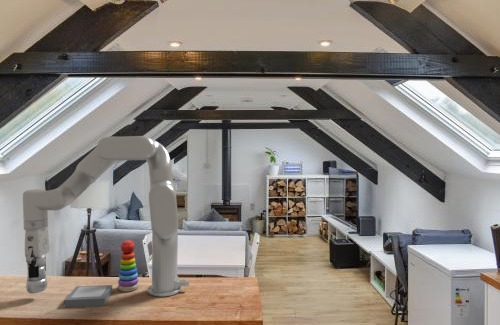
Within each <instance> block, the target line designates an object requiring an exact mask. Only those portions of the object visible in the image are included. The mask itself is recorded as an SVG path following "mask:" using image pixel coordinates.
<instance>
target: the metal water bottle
mask: <svg viewBox="0 0 500 325" xmlns="http://www.w3.org/2000/svg"><path fill="white" fill-rule="evenodd" d="M45 253H46V250H45ZM46 255H47V253H46V254H45V255H44V256H42V257H41V258H38V265H37V266H39V277H38V278H29V273H28V272H27V273H26V274H27V276H26V277H27V279H26V283H25V289H26V291H27V292H28V293H29V294H37V293H38V294H39V293H41V292H44V291H45V290H46V289H47V287H48V278H47V276H46V275H47V274H46V271H45V261H46V260H45V257H46ZM32 257H35V255H32ZM46 258H47V257H46ZM32 260H34V262H35V259H32ZM26 266H27V268H26V269H27V271H28V263H27V262H26Z"/></svg>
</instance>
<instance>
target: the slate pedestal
mask: <svg viewBox="0 0 500 325" xmlns="http://www.w3.org/2000/svg"><path fill="white" fill-rule="evenodd" d="M112 293H113V284H105V285H104V284H103V285H102V284H101V285H100V284H99V285H77V286H75V287H74V288H73V290H72V291H71V292H70V293H69V294H68V295H67V297H66V298H65V299H64V308H78V307H79V308H80V307H81V308H82V307H99V306H106V304H107V302H108V300H109V298H110V296H111V295H112Z"/></svg>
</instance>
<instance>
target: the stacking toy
mask: <svg viewBox="0 0 500 325" xmlns="http://www.w3.org/2000/svg"><path fill="white" fill-rule="evenodd" d="M135 247H136V246H135V243H134V242H133V241H132V240H129V239H128V240H125V241H122V243H121V246H120V249H121V252H122V253H121V255H120V257H121V259H120V265H119V268H120V269H119V276H118V280H117V283H118V284H117V289H118V290H119V291H120V292H132V291H135V290H136V289H138V288H139V287H140V283H139V278H138V276H139V274H138V269H137V264H136V258H135V256H136V254H135V252H133V251H134V250H135Z"/></svg>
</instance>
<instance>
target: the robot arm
mask: <svg viewBox="0 0 500 325" xmlns="http://www.w3.org/2000/svg"><path fill="white" fill-rule="evenodd" d="M117 161H118V162H119V161H123V162H125V161H146V162H147V164H148V172H149V173H148V175H149V182H150V183H149V185H150V187H149V188H150V189H149V192H148V204H149V215H150V225H151V226H150V227H151V231H152V232H151V234H152V236H151V237H152V238H151V239H152V240H151V242H152V243H151V245H152V246H151V285H150V286H148V287H147V294H149V295H150V296H154V297H170V296H174V295H176V294H179V293H180V292H181V290H182V287H189V286H190V281H189V280H187V279H181V278H179V275H178V246H179V245H178V236H179V234H178V233H179V232H178V231H179V230H178V229H179V216H178V215H179V214H178V203H177V201H178V200H177V192H176V189H175V185H174V184H175V183H174V175H173V168H172V161H171V158H170V154H169V152H168V150H167V149H166V148H165V146H164V145H163V144H162V143H160V142H158V141H157V140H155V139H152V138H151V137H148V136H145V135H131V136H105V137H102V138H101V139H100V140H99V141H98V142H97V144H96V147H95V148H94V149H93V150H92V151H90V152H89V153H88V154H87V155H86V156H85V157H84V158H82V160H81V161H80V162H79V163H78V164H77V165H76V168H75V170H74V171H73V173H72V174H71V175H70V176H69V177H68V178H67V179H66V180H65V181H64V182H62V184H60V186H58V187H57V188H54V189H49V190H45V189H41V188H40V189H37V188H36V189H28V190H27V189H26V190H25V191H23V193H22V213H23V216H22V218H23V230H24V232H25V233H24V257H25V262H26V264H27V263H28V270H27V274H28V273H29V278H38V277H39V266H37V265H38V258H41V257H42V256H44V255H45V254H46V255H47V254H48V253H49V252H50V250H51V249H50V236H49V229H48V228H49V219H48V217H49V214H48V211H53V212H55V211H60V210H62V209H65V208H66V207H68V206H70V205H71V204H72V203H73V202H74V201H75V200H76V199H77V198H79V196H81V195H82V194H83V193H84V192H85V191H86V190H87V189H88V188H89V187H90V186H91V185H92V184H94V183H95V182H96V181H97V180H98V179H99V178H100V177H101V176H102V175H103V174H105V173H106V171H107V170H109V168H111V167H112V166H113V165H114V164H115V163H116V162H117ZM45 250H46V253H45ZM32 255H35V257H32ZM32 259H35V262H34V260H32ZM46 260H47V257H45V272H46V271H47V267H46V266H47V264H46V263H47V261H46Z"/></svg>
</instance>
